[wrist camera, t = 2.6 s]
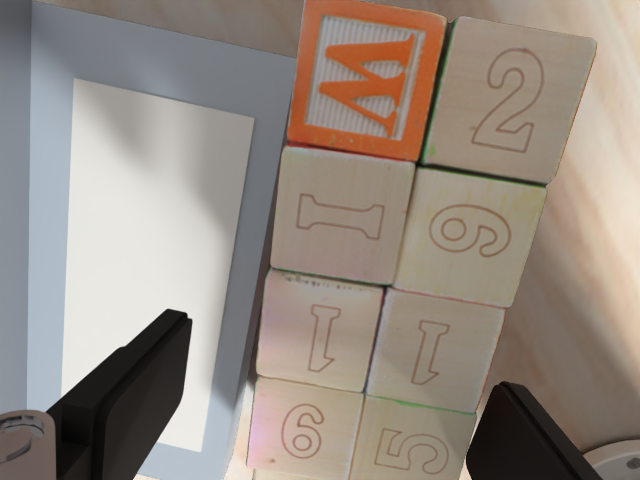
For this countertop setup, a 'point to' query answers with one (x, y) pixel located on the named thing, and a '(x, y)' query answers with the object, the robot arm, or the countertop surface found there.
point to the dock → (135, 210)
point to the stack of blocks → (401, 234)
